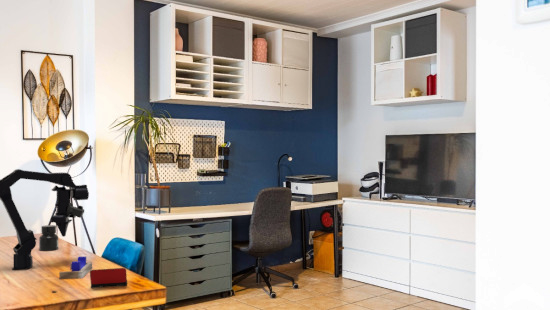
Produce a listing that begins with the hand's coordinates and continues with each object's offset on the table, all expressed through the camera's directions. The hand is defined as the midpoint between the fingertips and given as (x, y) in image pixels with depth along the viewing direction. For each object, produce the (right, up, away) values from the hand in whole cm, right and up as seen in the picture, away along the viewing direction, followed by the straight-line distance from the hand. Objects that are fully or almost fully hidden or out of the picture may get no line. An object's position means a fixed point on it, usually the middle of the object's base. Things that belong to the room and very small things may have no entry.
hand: (63, 236), depth 245 cm
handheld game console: (+32, -12, -42) cm, 54 cm away
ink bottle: (-22, -12, +37) cm, 44 cm away
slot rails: (+12, -12, -21) cm, 27 cm away
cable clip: (+14, -12, -21) cm, 28 cm away
